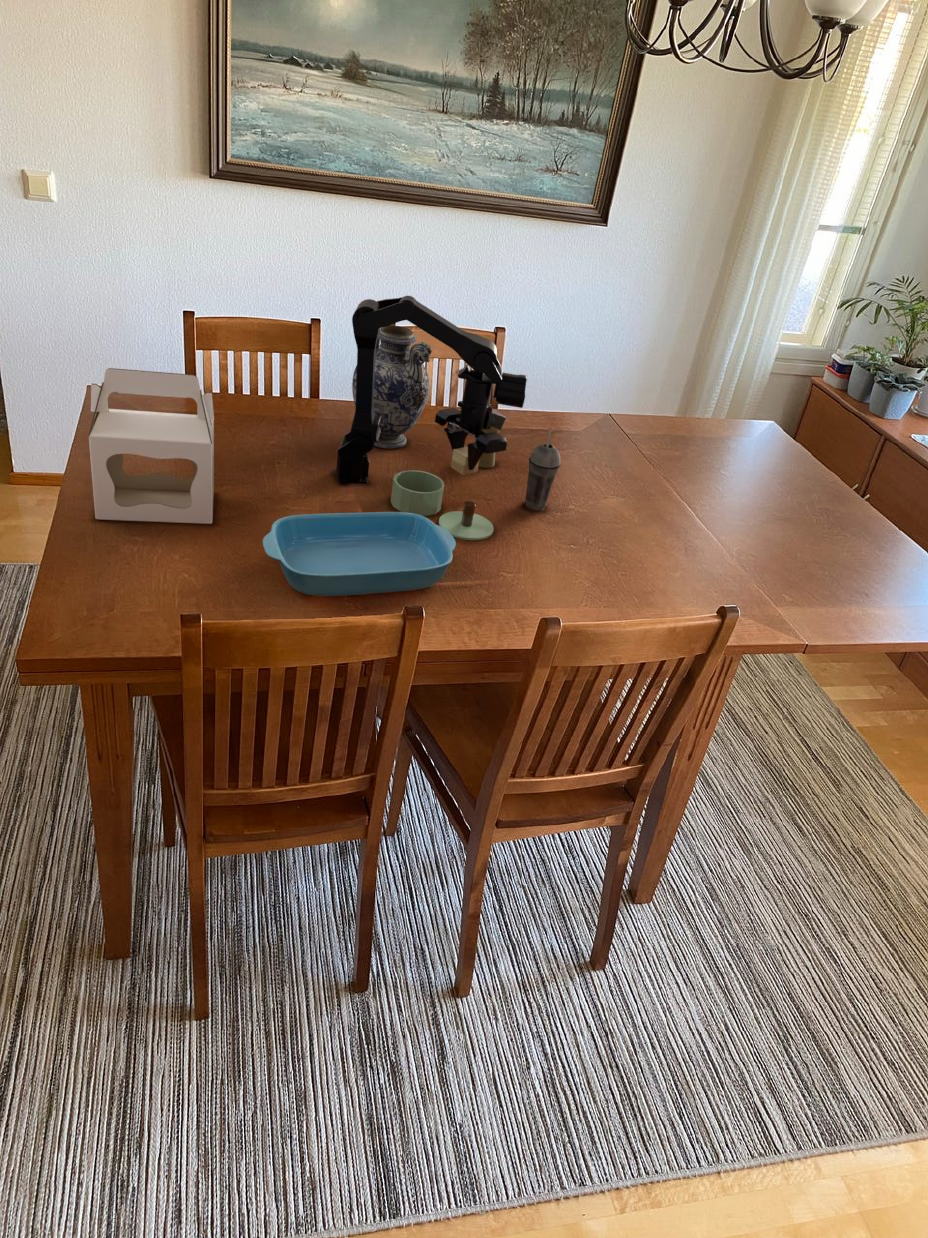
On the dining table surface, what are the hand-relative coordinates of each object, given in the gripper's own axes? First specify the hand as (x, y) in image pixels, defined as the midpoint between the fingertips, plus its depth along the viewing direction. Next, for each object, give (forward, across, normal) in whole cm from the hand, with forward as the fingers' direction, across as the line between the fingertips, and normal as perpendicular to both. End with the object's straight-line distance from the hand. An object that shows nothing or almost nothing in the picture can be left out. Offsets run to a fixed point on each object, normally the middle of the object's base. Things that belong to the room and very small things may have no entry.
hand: (464, 465), depth 202 cm
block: (+1, 0, 0) cm, 1 cm away
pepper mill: (+8, +12, -18) cm, 23 cm away
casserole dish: (+8, -18, +40) cm, 44 cm away
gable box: (+8, +20, +63) cm, 67 cm away
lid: (+7, -13, +9) cm, 17 cm away
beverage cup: (+8, -12, -13) cm, 19 cm away
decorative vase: (+8, +32, -2) cm, 33 cm away
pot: (+8, 0, +13) cm, 15 cm away
